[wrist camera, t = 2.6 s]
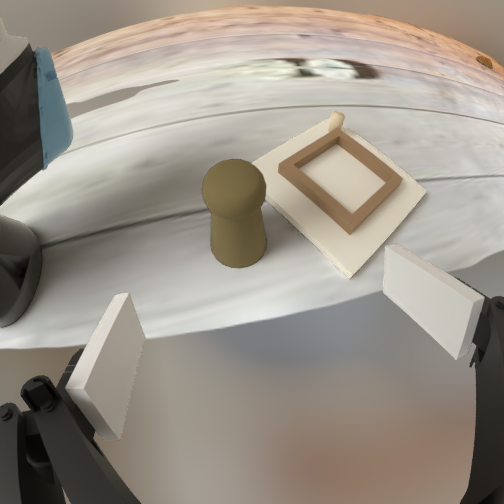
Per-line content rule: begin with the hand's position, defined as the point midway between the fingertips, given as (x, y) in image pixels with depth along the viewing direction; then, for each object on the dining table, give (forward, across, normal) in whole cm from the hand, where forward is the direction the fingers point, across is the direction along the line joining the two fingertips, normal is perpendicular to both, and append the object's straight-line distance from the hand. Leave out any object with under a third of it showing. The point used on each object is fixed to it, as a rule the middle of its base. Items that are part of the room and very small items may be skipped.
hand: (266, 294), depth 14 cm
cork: (+18, 0, -3) cm, 18 cm away
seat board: (+22, +14, +1) cm, 26 cm away
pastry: (+66, +117, +45) cm, 142 cm away
